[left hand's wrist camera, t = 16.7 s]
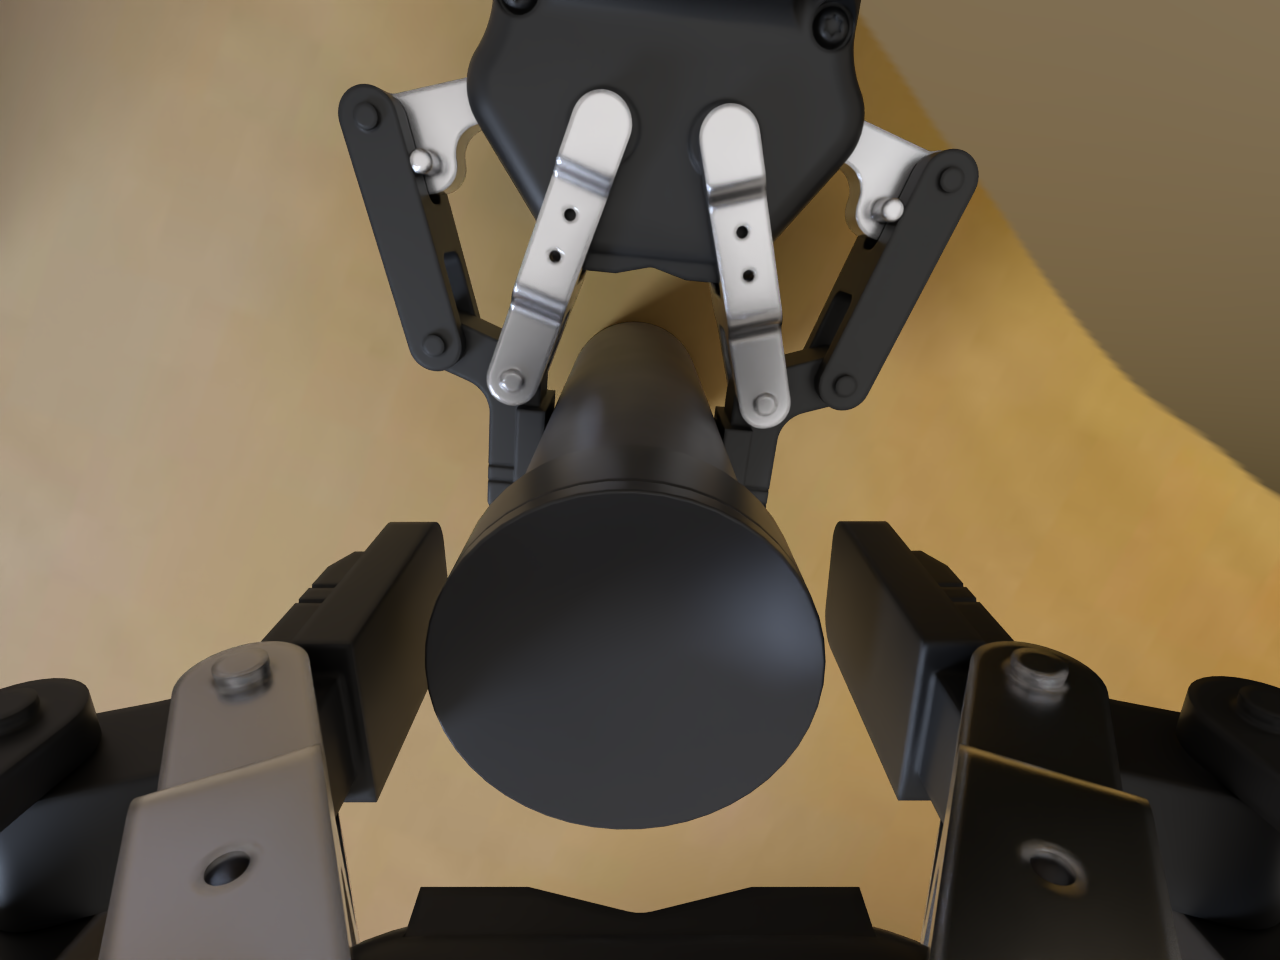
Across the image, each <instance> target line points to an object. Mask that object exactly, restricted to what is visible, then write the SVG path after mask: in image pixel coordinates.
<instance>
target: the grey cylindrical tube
mask: <svg viewBox="0 0 1280 960" xmlns="http://www.w3.org/2000/svg"><path fill="white" fill-rule="evenodd" d="M609 445H642V446H651V447H660V448H664V449H668V450H672V451H676V452H680V453H684V454H687V455H689V456H692V457H695V458H697V459H700V460H702V461H705V462H707V463H709V464H711V465H712V466H714V467H716V468H718V469H720V470H722V471H724V472H725V473H727V474H728V475H730V476H731V477H732V478H734V479H735V480H736V481H737V479H736V476H735V473H734V471H733V468H732V465H731V463H730V460H729V457H728V455H727V452H726V449H725V447H724V444H723V441H722V439H721V436H720V433H719V431H718V428H717V425H716V423H715V420H714V417H713V415H712V412H711V409H710V407H709V404H708V401H707V399H706V396H705V393H704V391H703V388H702V385H701V383H700V380H699V377H698V375H697V372H696V369H695V367H694V364H693V361H692V359H691V357H690V355H689V353H688V352H687V350H686V348H685V347H684V346H683V345H682V343H681V342H680V341H679V340H678V339H677V338H676V337H674V336H673V335H672V334H671V333H669V332H668V331H666V330H664V329H662V328H660V327H658V326H655V325H652V324H648V323H643V322H625V323H620V324H616V325H613V326H610V327H608V328H606V329H604V330H602V331H600V332H599V333H597V334H596V335H595V336H594V337H592V338H591V339H590V340H589V341H588V342H587V343H586V345H585V346H584V347H583V349H582V350H581V352H580V353H579V355H578V357H577V359H576V362H575V364H574V366H573V368H572V370H571V373H570V375H569V377H568V379H567V382H566V384H565V386H564V388H563V391H562V393H561V395H560V397H559V400H558V402H557V404H556V406H555V408H554V411H553V413H552V415H551V417H550V420H549V422H548V424H547V426H546V429H545V431H544V433H543V435H542V437H541V440H540V442H539V444H538V446H537V449H536V451H535V453H534V455H533V458H532V460H531V462H530V464H529V467H528V469H527V471H526V473H528V472H530V471H531V470H533V469H535V468H537V467H538V466H540V465H542V464H543V463H546V462H548V461H551V460H553V459H556V458H558V457H560V456H563V455H565V454H569V453H573V452H576V451H580V450H584V449H588V448H594V447H602V446H609ZM526 473H525V474H526Z"/></svg>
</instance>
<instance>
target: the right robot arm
mask: <svg viewBox="0 0 1280 960" xmlns="http://www.w3.org/2000/svg"><path fill="white" fill-rule="evenodd" d="M860 3H861V0H493V4H492V10H491V15H490V19H489V22H488V25H487V28H486V31H485V33H484V36H483V38H482V40H481V42H480V44H479V45H478V47H477V49H476V50H475V52H474V54H473V56H472V58H471V61H470V64H469V68H468V73H467V78H463V79H458V80H454V81H449V82H445V83H441V84H436V85H432V86H427V87H423V88H418V89H414V90H410V91H405V92H401V93H396V94H391V93H387V92H385V91H383V90H381V89H379V88H377V87H375V86H373V85H369V84H359V85H355V86H353V87H351V88H350V89H348V90H347V91H346V92H345V93H344V95H343V96H342V98H341V100H340V103H339V108H338V116H339V122H340V125H341V129H342V132H343V135H344V138H345V142H346V145H347V148H348V151H349V155H350V158H351V161H352V164H353V168H354V171H355V174H356V177H357V181H358V184H359V187H360V190H361V194H362V197H363V200H364V203H365V207H366V210H367V213H368V216H369V220H370V223H371V226H372V229H373V233H374V236H375V239H376V242H377V246H378V249H379V252H380V255H381V259H382V262H383V265H384V268H385V271H386V275H387V278H388V281H389V284H390V288H391V291H392V294H393V297H394V301H395V304H396V307H397V310H398V314H399V317H400V320H401V323H402V327H403V330H404V333H405V336H406V340H407V343H408V346H409V349H410V352H411V355H412V356H413V358H414V359H415V360H416V362H417V363H418V364H420V365H421V366H422V367H424V368H426V369H428V370H432V371H443V370H446V371H448V372H450V373H452V374H454V375H457V376H459V377H461V378H463V379H465V380H468V381H470V382H472V383H473V384H475V385H476V386H477V387H478V388H479V389H480V390H481V391H482V392H483V393H484V395H485V397H486V398H487V401H488V404H489V408H490V424H489V467H488V478H489V480H488V504H489V506H490V504H491V503H492V502H493V501H494V500H495V499H496V498H497V497H498V496H499V495H500V494H501V493H502V492H503V491H504V490H505V489H506V488H507V487H509V486H510V485H511V484H513V483H514V482H515V481H516V480H518V479H519V478H520V477H522V476H523V475H524V474H525V473H526V471H527V469H528V467H529V464H530V462H531V460H532V458H533V455H534V453H535V451H536V449H537V446H538V444H539V442H540V440H541V437H542V435H543V433H544V431H545V429H546V426H547V424H548V422H549V420H550V417H551V415H552V413H553V411H554V406H555V390H547V379H548V371H549V369H550V366H551V363H552V361H553V358H554V355H555V353H556V350H557V347H558V345H559V342H560V339H561V337H562V334H563V331H564V329H565V326H566V323H567V321H568V318H569V315H570V313H571V310H572V308H573V306H574V303H575V301H576V299H577V296H578V294H579V291H580V289H581V286H582V283H583V281H584V278H585V275H586V273H587V270H589V271H599V272H609V273H619V272H624V271H630V270H636V269H642V268H647V267H653V268H656V269H658V270H661V271H664V272H666V273H669V274H671V275H674V276H676V277H679V278H682V279H684V280H690V281H700V282H709V287H710V293H711V299H712V304H713V309H714V314H715V318H716V321H717V326H718V331H719V337H720V343H721V349H722V355H723V361H724V367H725V373H726V379H727V385H728V386H727V393H726V400H725V407H719V406H716V408H715V415H714V420H715V423H716V425H717V428H718V431H719V433H720V436H721V439H722V441H723V444H724V447H725V449H726V452H727V455H728V457H729V460H730V463H731V465H732V468H733V471H734V473H735V476H736V479H737V481H738V482H739V483H741V484H742V485H743V486H745V487H746V488H747V489H748V490H749V491H750V492H751V493H752V494H753V495H754V496H755V497H756V498H757V499H758V500H759V501H760V502H761V503H762V504H763V506H764V507H765V508H766V504H767V498H768V489H769V486H770V480H771V474H772V468H773V462H774V456H775V450H776V444H777V439H778V435H779V433H780V431H781V429H782V427H783V426H784V425H785V424H786V423H787V422H788V421H789V420H790V419H791V418H793V417H795V416H797V415H799V414H802V413H805V412H809V411H813V410H817V409H821V408H825V407H831V408H833V409H836V410H849V409H852V408H854V407H856V406H858V405H859V404H860V403H862V402H863V400H864V399H865V398H866V396H867V395H868V393H869V391H870V389H871V387H872V385H873V383H874V381H875V380H876V378H877V376H878V374H879V372H880V370H881V368H882V366H883V364H884V362H885V361H886V359H887V357H888V355H889V353H890V351H891V349H892V347H893V345H894V343H895V342H896V340H897V338H898V336H899V334H900V332H901V330H902V328H903V326H904V324H905V323H906V321H907V319H908V317H909V315H910V313H911V311H912V309H913V307H914V305H915V304H916V302H917V300H918V298H919V296H920V294H921V292H922V290H923V288H924V286H925V285H926V283H927V281H928V279H929V277H930V275H931V273H932V271H933V269H934V267H935V266H936V264H937V262H938V260H939V258H940V256H941V254H942V252H943V250H944V248H945V246H946V245H947V243H948V241H949V239H950V237H951V235H952V233H953V231H954V229H955V227H956V226H957V224H958V222H959V220H960V218H961V216H962V214H963V212H964V210H965V208H966V207H967V205H968V203H969V201H970V199H971V197H972V195H973V193H974V191H975V189H976V187H977V183H978V177H979V175H978V167H977V164H976V162H975V160H974V159H973V157H972V156H971V155H970V154H968V153H967V152H965V151H963V150H959V149H948V150H944V151H928V150H926V149H923V148H921V147H919V146H917V145H915V144H913V143H911V142H909V141H906V140H904V139H902V138H900V137H898V136H896V135H894V134H892V133H890V132H887V131H885V130H883V129H881V128H879V127H877V126H875V125H873V124H870V123H868V122H866V121H864V114H865V113H864V102H863V97H862V94H861V91H860V88H859V85H858V81H857V77H856V73H855V66H854V52H853V50H854V37H855V30H856V25H857V20H858V14H859V9H860ZM480 131H483V133H484V135H485V136H486V138H487V140H488V141H489V143H490V145H491V146H492V148H493V150H494V151H495V153H496V155H497V156H498V158H499V160H500V161H501V163H502V165H503V166H504V168H505V170H506V171H507V173H508V175H509V176H510V178H511V180H512V181H513V183H514V185H515V186H516V188H517V190H518V191H519V193H520V195H521V196H522V198H523V200H524V201H525V203H526V205H527V206H528V208H529V210H530V211H531V213H532V215H533V216H534V218H535V220H536V224H535V227H534V230H533V233H532V236H531V238H530V241H529V244H528V247H527V250H526V253H525V256H524V259H523V262H522V265H521V267H520V270H519V273H518V276H517V279H516V282H515V285H514V289H513V292H512V300H511V305H510V308H509V311H508V314H507V317H506V320H505V322H504V325H503V328H500V327H498V326H495V325H493V324H491V323H489V322H487V321H485V320H483V319H480V315H479V311H478V307H477V304H476V300H475V296H474V293H473V289H472V285H471V281H470V278H469V274H468V270H467V267H466V263H465V259H464V255H463V252H462V248H461V244H460V241H459V237H458V233H457V229H456V226H455V222H454V218H453V215H452V211H451V207H450V203H449V200H448V196H447V194H449V193H452V192H454V191H456V190H457V189H458V188H459V187H460V186H461V185H462V183H463V182H464V179H465V176H466V160H465V153H466V148H467V145H468V143H469V141H470V140H471V138H472V137H473V136H474V135H475V134H476V133H478V132H480ZM839 169H840V170H841V171H842V172H843V173H844V174H845V176H846V178H847V180H848V183H849V198H848V201H847V205H846V209H845V219H846V223H847V225H848V227H849V229H850V230H851V231H852V232H853V233H854V234H856V235H858V237H857V239H856V241H855V243H854V245H853V247H852V250H851V252H850V254H849V256H848V258H847V260H846V262H845V264H844V266H843V268H842V270H841V272H840V274H839V276H838V279H837V281H836V283H835V285H834V287H833V289H832V291H831V293H830V295H829V297H828V299H827V301H826V303H825V305H824V308H823V310H822V312H821V314H820V316H819V318H818V320H817V322H816V324H815V326H814V328H813V330H812V332H811V334H810V337H809V339H808V341H807V343H806V345H805V347H804V349H803V350H800V351H796V352H793V353H789V354H785V355H784V349H783V342H782V334H781V325H782V306H781V299H780V292H779V284H778V277H777V270H776V262H775V255H774V248H773V242H774V241H775V240H776V239H777V238H778V236H779V235H780V234H781V233H782V232H783V231H784V230H785V229H786V228H787V226H788V225H789V224H790V223H791V222H792V221H793V220H794V219H795V218H796V216H797V215H798V214H799V213H800V212H801V211H802V210H803V209H804V208H805V206H806V205H807V204H808V203H809V202H810V201H811V200H812V199H813V198H814V196H815V195H816V194H817V193H818V192H819V191H820V190H821V189H822V188H823V186H824V185H825V184H826V183H827V182H828V181H829V180H830V179H831V178H832V176H833V175H834V174H835V173H836V172H837V171H838V170H839Z"/></svg>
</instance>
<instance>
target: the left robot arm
mask: <svg viewBox="0 0 1280 960" xmlns="http://www.w3.org/2000/svg"><path fill="white" fill-rule="evenodd" d="M447 579H448V578H447V568H446V559H445V549H444V540H443V534H442V530H441V527H440V525H439V524H438V523H437V522H390V523H388V524H387V525H386V526H385V528H384V529H383V530H382V531H381V532H380V534H379V535H378V536H377V537H376V538H375V540H374V541H373V542H372V543H371V544H370V546H369V547H368V548H367V549H366V550H365V552H353V553H352V554H350V555H348V556H346V557H344V558H343V559H341V560H339V561H337V562H336V563H334V564H332V565H330V566H329V567H327V569H326V570H325V571H324V572H323V573H322V574H321V575H320V576H319V577H318V579H317V580H316V581H315V582H314V583H313V584H312V588H309V589H308V590H307V591H306V592H305V593H304V594H303V595H302V596H301V597H300V599H299V603H295V604H294V605H293V606H292V608H291V609H290V610H289V611H288V612H287V613H286V614H285V615H284V616H283V618H282V619H281V620H280V621H279V622H278V623H277V624H276V625H275V626H274V628H273V629H272V630H271V631H270V632H269V633H268V634H267V635H266V636H265V638H264V639H263V640H262V641H261V642H255V643H250V644H245V645H241V646H237V647H233V648H230V649H227V650H224V651H221V652H219V653H217V654H214V655H212V656H210V657H208V658H206V659H204V660H202V661H201V662H199V663H197V664H196V665H194V666H193V667H191V668H190V669H189V670H188V671H187V672H185V673H184V674H183V675H182V676H181V677H180V678H179V680H178V681H177V683H176V684H175V686H174V688H173V691H172V696H171V699H168V700H164V701H159V702H155V703H149V704H144V705H139V706H133V707H128V708H123V709H117V710H112V711H107V712H102V713H96V712H95V708H94V705H93V702H92V699H91V696H90V693H89V690H88V688H87V687H86V685H84V684H83V683H81V682H79V681H76V680H72V679H65V678H51V679H41V680H35V681H29V682H24V683H20V684H16V685H12V686H9V687H6V688H2V689H0V960H1280V688H1278V687H1275V686H1271V685H1268V684H1265V683H1261V682H1257V681H1253V680H1248V679H1243V678H1237V677H1226V676H1212V677H1205V678H1201V679H1198V680H1196V681H1194V682H1193V683H1191V685H1190V686H1189V688H1188V691H1187V694H1186V697H1185V701H1184V704H1183V707H1182V710H1181V712H1175V711H1170V710H1165V709H1159V708H1154V707H1149V706H1143V705H1138V704H1133V703H1128V702H1122V701H1117V700H1113V699H1109V696H1108V691H1107V688H1106V686H1105V684H1104V683H1103V681H1102V680H1101V678H1100V677H1099V676H1098V675H1097V674H1096V673H1095V672H1093V671H1092V670H1091V669H1090V668H1089V667H1087V666H1086V665H1084V664H1083V663H1081V662H1079V661H1078V660H1076V659H1074V658H1072V657H1070V656H1068V655H1066V654H1063V653H1061V652H1059V651H1056V650H1053V649H1050V648H1047V647H1043V646H1039V645H1035V644H1030V643H1025V642H1016V641H1014V640H1013V639H1012V638H1011V637H1010V636H1009V635H1008V634H1007V632H1006V631H1005V630H1004V629H1003V628H1002V627H1001V626H1000V625H999V623H998V622H997V621H996V620H995V619H994V618H993V617H992V616H991V614H990V613H989V612H988V611H987V610H986V609H985V608H984V607H983V605H982V604H981V603H980V602H976V597H975V596H974V595H973V594H972V593H971V592H970V591H969V590H968V588H967V587H963V583H962V582H961V581H960V579H959V578H958V577H957V576H956V575H955V574H954V573H953V572H952V570H951V569H950V568H949V567H948V566H947V565H945V564H943V563H941V562H940V561H938V560H936V559H934V558H933V557H931V556H929V555H927V554H926V553H924V552H922V551H911V550H910V549H909V548H908V547H907V545H906V544H905V543H904V542H903V540H902V539H901V538H900V537H899V536H898V534H897V533H896V532H895V531H894V529H893V528H892V527H891V526H890V525H889V523H887V522H886V521H839V522H838V523H837V525H836V527H835V530H834V534H833V541H832V551H831V561H830V570H829V580H828V590H827V599H826V610H825V621H826V632H827V638H828V642H829V645H830V648H831V650H832V653H833V655H834V657H835V659H836V662H837V664H838V666H839V668H840V671H841V673H842V675H843V677H844V680H845V682H846V684H847V686H848V689H849V691H850V693H851V695H852V698H853V700H854V702H855V704H856V707H857V709H858V711H859V713H860V716H861V718H862V720H863V722H864V725H865V727H866V729H867V731H868V734H869V736H870V738H871V740H872V743H873V745H874V747H875V749H876V752H877V754H878V756H879V758H880V761H881V763H882V765H883V767H884V770H885V772H886V774H887V776H888V779H889V781H890V783H891V785H892V788H893V790H894V792H895V794H896V797H897V799H898V800H931V801H932V803H933V805H934V807H935V809H936V811H937V813H938V815H939V817H940V824H939V829H938V834H937V840H936V846H935V852H934V859H933V865H932V871H931V877H930V884H929V890H928V896H927V902H926V908H925V915H924V921H923V927H922V933H921V940H920V943H919V942H917V941H915V940H912V939H910V938H907V937H904V936H901V935H898V934H896V933H893V932H890V931H887V930H883V929H879V928H876V927H872V924H871V921H870V918H869V915H868V912H867V909H866V906H865V903H864V900H863V897H862V894H861V891H860V888H859V887H750V888H746V889H742V890H737V891H733V892H729V893H725V894H721V895H717V896H713V897H709V898H705V899H701V900H697V901H693V902H689V903H685V904H681V905H677V906H673V907H669V908H665V909H660V910H656V911H652V912H646V913H634V912H628V911H624V910H620V909H615V908H611V907H607V906H603V905H599V904H595V903H591V902H587V901H583V900H579V899H575V898H571V897H567V896H563V895H559V894H555V893H551V892H547V891H543V890H538V889H534V888H530V887H421V888H420V891H419V894H418V897H417V900H416V903H415V906H414V909H413V912H412V915H411V918H410V921H409V924H408V927H404V928H401V929H397V930H393V931H390V932H387V933H384V934H382V935H379V936H376V937H373V938H370V939H368V940H365V941H363V942H361V943H360V940H359V933H358V927H357V921H356V915H355V909H354V902H353V896H352V890H351V884H350V877H349V871H348V865H347V859H346V852H345V846H344V840H343V834H342V829H341V824H340V818H339V813H338V812H339V810H340V808H341V806H342V804H343V802H377V800H378V798H379V796H380V794H381V791H382V789H383V787H384V785H385V783H386V780H387V778H388V776H389V774H390V771H391V769H392V767H393V765H394V763H395V760H396V758H397V756H398V754H399V752H400V749H401V747H402V745H403V743H404V740H405V738H406V736H407V734H408V732H409V729H410V727H411V725H412V723H413V721H414V718H415V716H416V714H417V712H418V709H419V707H420V705H421V703H422V701H423V698H424V696H425V694H426V692H427V690H428V686H427V679H426V671H425V642H426V636H427V630H428V625H429V620H430V617H431V614H432V611H433V608H434V605H435V603H436V600H437V598H438V596H439V594H440V592H441V590H442V588H443V586H444V584H445V582H446V580H447Z"/></svg>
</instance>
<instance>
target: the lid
mask: <svg viewBox="0 0 1280 960" xmlns="http://www.w3.org/2000/svg"><path fill="white" fill-rule="evenodd" d="M825 662H826V661H825V645H824V637H823V632H822V628H821V623H820V619H819V615H818V613H817V610H816V608H815V605H814V603H813V600H812V597H811V595H810V593H809V591H808V588H807V586H806V584H805V582H804V580H803V577H802V575H801V573H800V571H799V569H798V566H797V564H796V562H795V560H794V558H793V555H792V553H791V551H790V549H789V547H788V544H787V542H786V540H785V538H784V536H783V534H782V532H781V531H780V529H779V527H778V525H777V524H776V522H775V520H774V518H773V517H772V516H771V515H770V513H769V512H768V511H767V510H766V508H765V507H764V506H763V504H762V503H761V502H760V501H759V500H758V499H757V498H756V497H755V496H754V495H753V494H752V493H751V492H750V491H749V490H748V489H747V488H746V487H745V486H743V485H742V484H741V483H739V482H738V481H736V480H735V479H734V478H732V477H731V476H730V475H728V474H727V473H725V472H724V471H722V470H720V469H718V468H716V467H714V466H712V465H711V464H709V463H707V462H705V461H702V460H700V459H697V458H695V457H692V456H689V455H687V454H684V453H680V452H676V451H672V450H668V449H664V448H660V447H651V446H642V445H609V446H602V447H594V448H588V449H584V450H580V451H576V452H573V453H569V454H565V455H563V456H560V457H558V458H556V459H553V460H551V461H548V462H546V463H543V464H542V465H540V466H538V467H537V468H535V469H533V470H531V471H530V472H528V473H526V474H524V475H523V476H522V477H520V478H519V479H518V480H516V481H515V482H514V483H513V484H511V485H510V486H509V487H507V488H506V489H505V490H504V491H503V492H502V493H501V494H500V495H499V496H498V497H497V498H496V499H495V500H494V501H493V502H492V503H491V504H490V506H489V507H488V508H487V510H486V511H485V513H484V514H483V515H482V517H481V518H480V519H479V521H478V522H477V524H476V526H475V528H474V530H473V532H472V534H471V535H470V537H469V539H468V541H467V543H466V545H465V547H464V549H463V550H462V552H461V554H460V556H459V558H458V560H457V562H456V564H455V565H454V567H453V569H452V571H451V573H450V575H449V577H448V579H447V580H446V582H445V584H444V586H443V588H442V590H441V592H440V594H439V596H438V598H437V600H436V603H435V605H434V608H433V611H432V614H431V617H430V620H429V625H428V630H427V636H426V642H425V671H426V679H427V686H428V691H429V694H430V698H431V701H432V704H433V708H434V711H435V713H436V715H437V717H438V720H439V722H440V724H441V726H442V728H443V730H444V732H445V734H446V735H447V737H448V738H449V740H450V741H451V743H452V745H453V746H454V748H455V749H456V750H457V752H458V753H459V754H460V755H461V756H462V758H463V759H464V760H465V761H466V762H467V763H468V765H469V766H470V767H471V768H472V769H473V770H474V771H476V772H477V773H478V774H479V775H480V776H481V777H482V778H483V779H484V780H485V781H486V782H488V783H489V784H490V785H492V786H493V787H495V788H496V789H497V790H499V791H500V792H502V793H503V794H504V795H506V796H508V797H509V798H511V799H513V800H515V801H517V802H518V803H520V804H522V805H524V806H525V807H528V808H530V809H532V810H535V811H537V812H540V813H542V814H544V815H547V816H550V817H553V818H556V819H559V820H563V821H566V822H569V823H574V824H579V825H584V826H590V827H597V828H608V829H646V828H655V827H664V826H669V825H673V824H678V823H682V822H687V821H690V820H693V819H696V818H699V817H702V816H705V815H708V814H711V813H713V812H715V811H718V810H720V809H722V808H724V807H726V806H729V805H731V804H732V803H734V802H736V801H737V800H739V799H741V798H743V797H744V796H746V795H748V794H749V793H751V792H752V791H753V790H755V789H756V788H757V787H759V786H760V785H761V784H763V783H764V782H765V781H767V780H768V779H769V778H770V777H771V776H772V775H773V774H774V773H775V772H776V771H777V770H778V769H779V768H780V767H781V766H782V765H783V764H784V763H785V762H786V761H787V759H788V758H789V757H790V756H791V754H792V753H793V752H794V751H795V749H796V748H797V747H798V745H799V744H800V742H801V740H802V739H803V737H804V735H805V734H806V732H807V730H808V728H809V727H810V724H811V722H812V719H813V717H814V715H815V712H816V710H817V707H818V704H819V700H820V696H821V692H822V688H823V684H824V673H825Z"/></svg>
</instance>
